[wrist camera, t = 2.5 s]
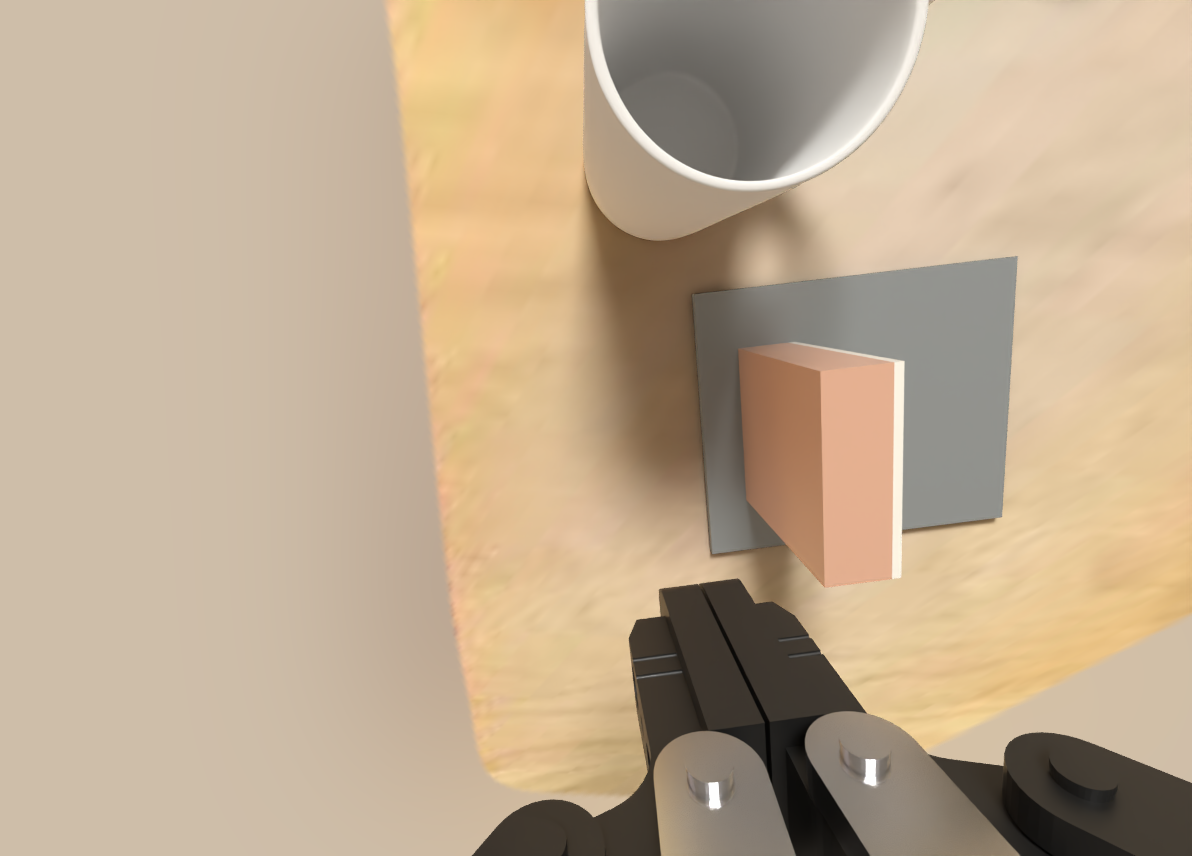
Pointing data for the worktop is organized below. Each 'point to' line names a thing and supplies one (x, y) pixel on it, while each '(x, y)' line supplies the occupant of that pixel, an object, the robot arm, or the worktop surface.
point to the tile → (826, 456)
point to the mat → (885, 329)
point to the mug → (732, 100)
